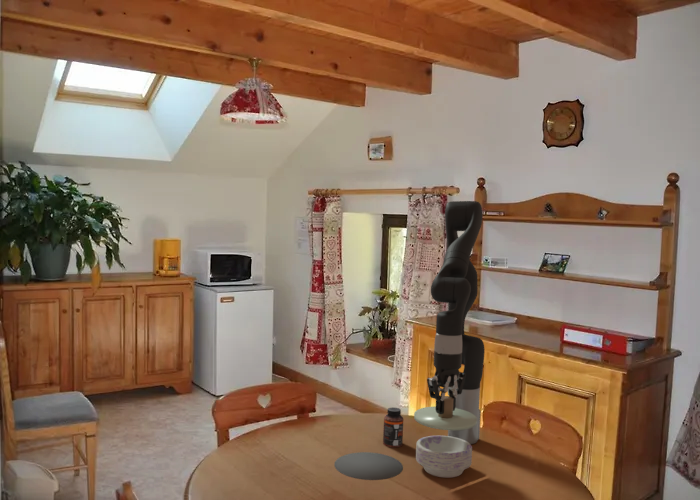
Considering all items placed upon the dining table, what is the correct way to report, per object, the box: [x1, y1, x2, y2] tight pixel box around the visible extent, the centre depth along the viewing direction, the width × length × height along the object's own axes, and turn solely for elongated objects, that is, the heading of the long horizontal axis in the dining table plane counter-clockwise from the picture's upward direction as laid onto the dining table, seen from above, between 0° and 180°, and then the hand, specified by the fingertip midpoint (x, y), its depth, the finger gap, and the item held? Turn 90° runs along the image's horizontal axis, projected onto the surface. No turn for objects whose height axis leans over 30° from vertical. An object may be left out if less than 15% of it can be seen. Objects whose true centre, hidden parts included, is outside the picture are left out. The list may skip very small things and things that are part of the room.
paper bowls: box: [415, 435, 473, 478], centre depth 171 cm, size 15×15×8 cm
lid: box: [413, 395, 477, 431], centre depth 170 cm, size 17×17×6 cm
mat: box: [334, 451, 404, 481], centre depth 172 cm, size 19×19×1 cm
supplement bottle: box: [382, 407, 404, 448], centre depth 189 cm, size 6×6×11 cm
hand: (445, 411), depth 170 cm, fingers closed on lid, 4 cm apart
